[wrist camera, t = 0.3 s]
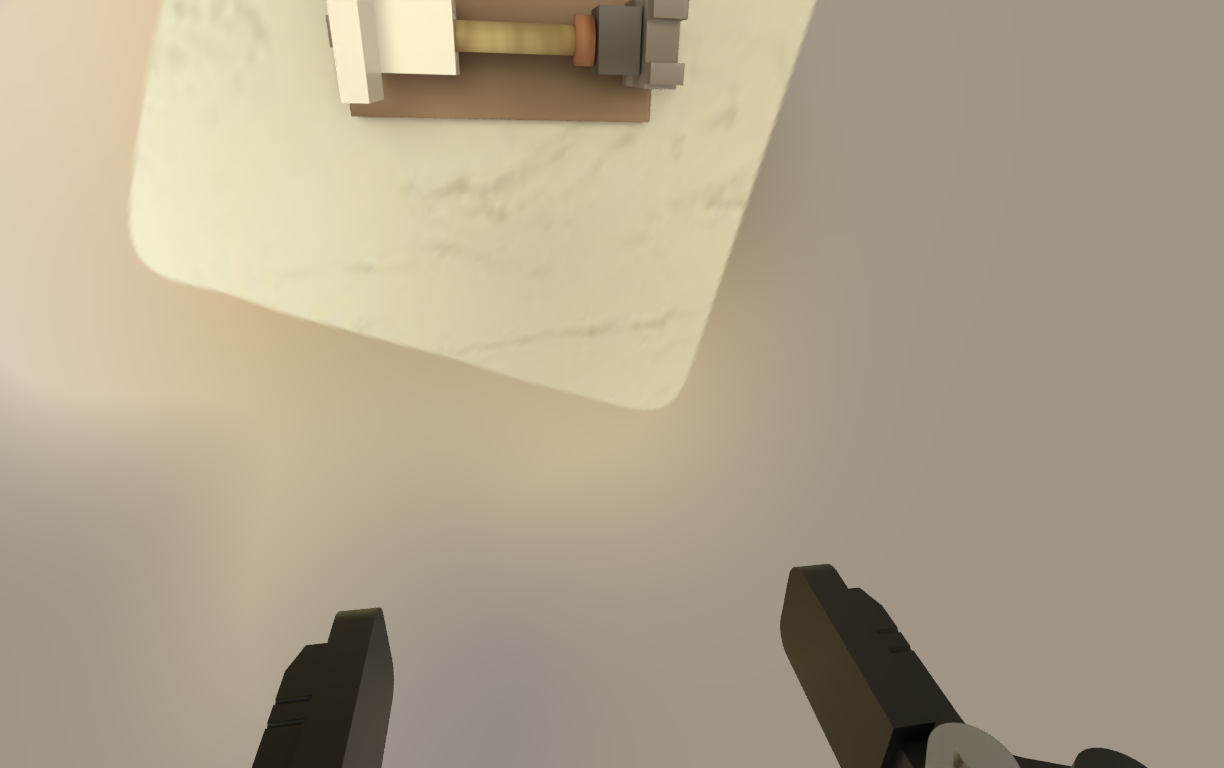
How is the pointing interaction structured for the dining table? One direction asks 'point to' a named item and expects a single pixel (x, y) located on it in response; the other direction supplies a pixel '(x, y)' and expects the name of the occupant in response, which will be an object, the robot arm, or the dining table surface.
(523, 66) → the linear actuator
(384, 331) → the dining table surface
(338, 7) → the cream stepped block
